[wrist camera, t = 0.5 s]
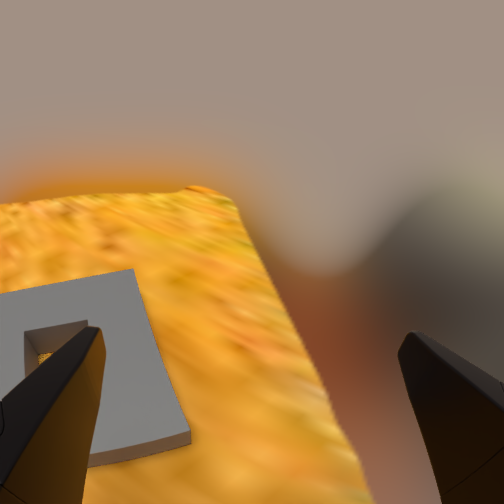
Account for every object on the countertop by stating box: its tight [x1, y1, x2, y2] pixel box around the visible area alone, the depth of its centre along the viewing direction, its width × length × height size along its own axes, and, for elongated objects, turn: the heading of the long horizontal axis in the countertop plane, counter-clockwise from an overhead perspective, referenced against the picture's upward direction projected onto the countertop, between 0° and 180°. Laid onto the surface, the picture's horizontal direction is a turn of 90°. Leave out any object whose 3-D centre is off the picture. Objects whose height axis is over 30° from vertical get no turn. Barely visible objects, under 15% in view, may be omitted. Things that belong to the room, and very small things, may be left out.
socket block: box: [0, 269, 191, 468], centre depth 20 cm, size 16×16×4 cm
